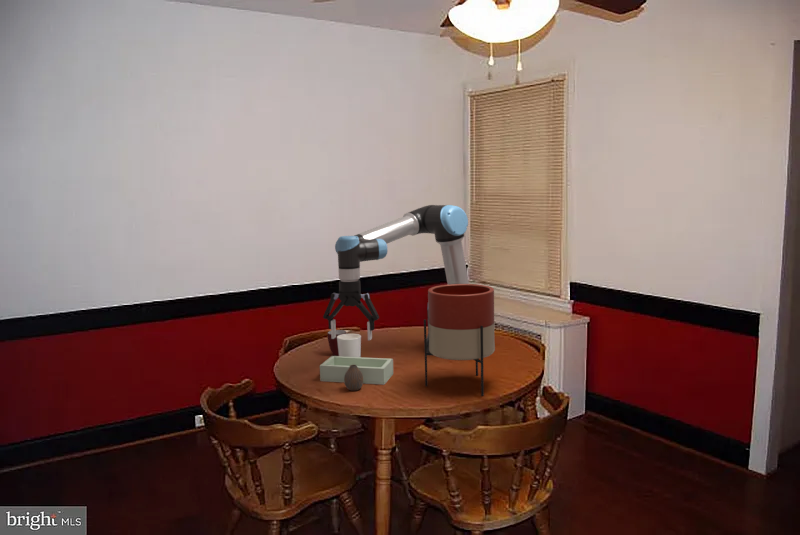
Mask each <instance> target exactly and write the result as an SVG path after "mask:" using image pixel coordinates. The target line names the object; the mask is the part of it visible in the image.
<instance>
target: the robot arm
mask: <svg viewBox="0 0 800 535" xmlns="http://www.w3.org/2000/svg"><path fill="white" fill-rule="evenodd" d="M468 226H469V219H468V215H467V214H466V211H465V210H464V209H463V208H461V207H460V206H458V205H452V204H445V205H444V204H438V205H437V204H429V205H424V206H421V207H418V208H416V209H414V210H411V211H407V212H406V213H404V214H403V216H402V217H400V218H397V219H394V220H392V221H390V222H387V223H384V224H381V225H379V226H376V227H373V228H370V229H367V230H365V231H363V232H360V233H357V234H355V235H342V236H339V237H338V238H337V240H336V242H335V245H334V251H335V253H336V254H337V262H338V264H337V265H338V279H339V281H338V293H336V292H333V293H330V299H329V302H328V305H327V306H326V310H325V311H324V313H323V315H322V318H323V319H324V320H327V322H328V329H329V330H330V331H331V338H332V339H334V338H335V337H336V330H337V329H336V324H337V323H336V322H337V321H336V319H334V318H335V317H336V316H337V314H338V313H339V312H340V311H341V309H342V308H343V306H345V307H355V306H356V308H357V309H358V310H359V311H361V313H362V314H363V315H364V317H366V319H367V320H368V321H367V322H366V326H367V329H366V330H367V341H371V340H372V339H373V331H374V330H375V321H378V320H379V319H380V315H379V314H378V311H377V309H376V308H375V306H374V303H373V302H372V300H371V296H370V293H369V292H367V293H363V294H362V292H361V280H360V279H361V269H360V268H361V267H360V266H361V263H362V262H366V261H367V262H368V261H379V260H382V259H385V258H386V256H387V254H388V245H387V244H389V243H391V242H392V243H393V242H395V241H397V240H400V239H402V238H405V237H407V236H416V235H420V234H432V235H433V234H434V238H435V242H436V243H437V244H438V245H440V252H441V256H442V261H443V267H444V271H445V272H444V273H445V277H446V282H447V285H449V284H470V282H469V277H468V270H467V266H466V259H465V254H464V249H463V243H462V240H463V239H464V237H465V233H466V232H467V229H468V228H467V227H468ZM338 299H339V300H340V302H339V304H338V305H337V306H336V307H335V309H334V310H333V311H332V309H333V307H334V305H335V302H336V301H337V300H338ZM361 299H363V301H364V302H365V304H366V306H367V308H366V306H365V305H364V303H363V302H362V300H361ZM331 311H332V312H331ZM427 330H428V331H427V335H426V339H427V353H430V351H429V310H428V307H427Z"/></svg>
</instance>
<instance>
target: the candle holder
mask: <svg viewBox="0 0 800 535" xmlns="http://www.w3.org/2000/svg"><path fill="white" fill-rule="evenodd" d="M337 342H338V352H339V356H342V357H362V356H361V354H362V353H361V352H362V351H361V350H362V349H361V348H362V347H361V346H362V344H361V343H362V335H361V334H359V333H346V334H342V335H339V336H337Z"/></svg>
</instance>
